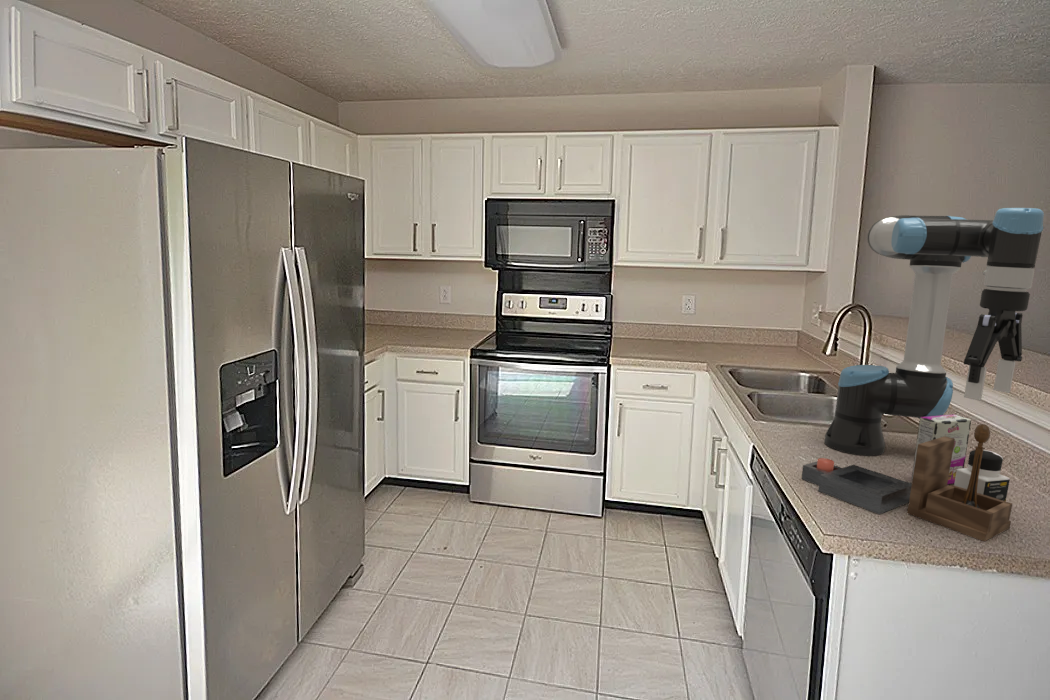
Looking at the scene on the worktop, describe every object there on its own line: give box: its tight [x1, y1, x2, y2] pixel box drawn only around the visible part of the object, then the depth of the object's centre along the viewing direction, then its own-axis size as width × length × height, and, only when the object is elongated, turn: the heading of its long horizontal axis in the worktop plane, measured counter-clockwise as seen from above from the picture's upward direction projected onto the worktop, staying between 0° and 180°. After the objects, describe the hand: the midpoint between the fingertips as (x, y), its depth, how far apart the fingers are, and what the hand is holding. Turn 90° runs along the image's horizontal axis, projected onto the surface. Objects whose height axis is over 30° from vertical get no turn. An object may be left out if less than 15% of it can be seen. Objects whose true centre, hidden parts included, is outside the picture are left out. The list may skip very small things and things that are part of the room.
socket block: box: [801, 460, 912, 515], centre depth 146 cm, size 14×20×4 cm
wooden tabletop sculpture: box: [961, 423, 991, 508], centre depth 130 cm, size 6×5×20 cm
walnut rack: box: [906, 436, 1013, 542], centre depth 131 cm, size 12×14×16 cm
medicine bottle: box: [954, 449, 1010, 502], centre depth 142 cm, size 7×7×12 cm
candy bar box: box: [911, 414, 972, 486], centre depth 153 cm, size 11×5×16 cm, turn 107°
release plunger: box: [817, 457, 835, 472], centre depth 152 cm, size 4×4×5 cm
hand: (987, 395), depth 127 cm, fingers open, 13 cm apart
